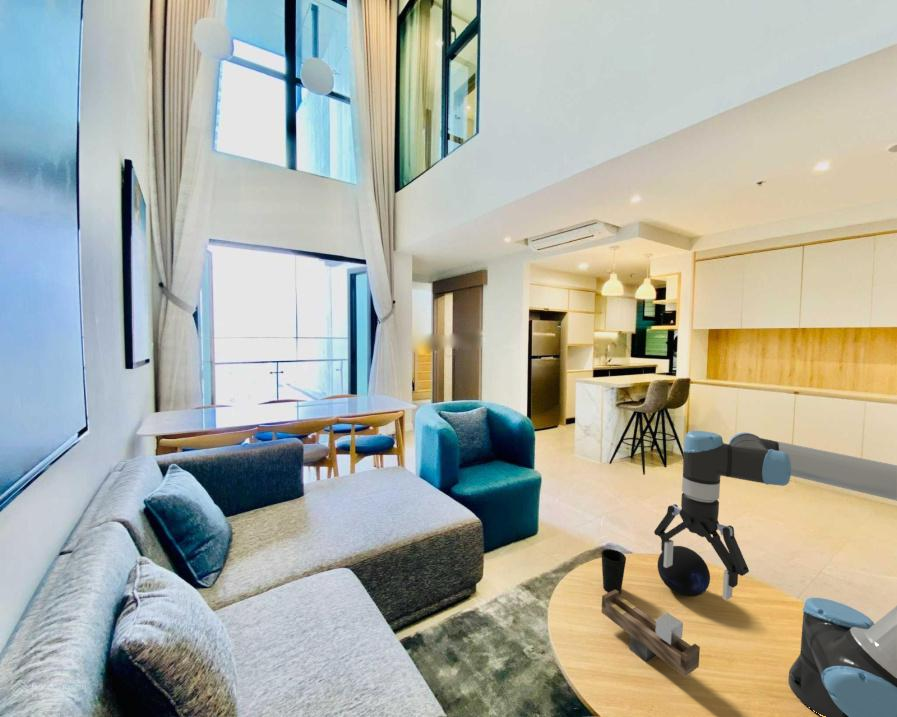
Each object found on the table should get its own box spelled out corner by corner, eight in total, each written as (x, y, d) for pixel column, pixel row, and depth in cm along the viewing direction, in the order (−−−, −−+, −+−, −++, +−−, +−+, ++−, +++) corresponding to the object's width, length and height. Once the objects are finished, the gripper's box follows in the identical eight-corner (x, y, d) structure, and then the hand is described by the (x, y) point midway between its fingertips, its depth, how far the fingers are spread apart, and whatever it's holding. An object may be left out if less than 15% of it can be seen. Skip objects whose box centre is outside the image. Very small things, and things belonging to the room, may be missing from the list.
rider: (681, 647, 97) (682, 622, 96) (670, 654, 94) (671, 629, 94) (666, 636, 100) (667, 612, 100) (654, 643, 98) (656, 619, 97)
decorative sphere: (695, 614, 117) (698, 568, 116) (647, 587, 129) (649, 545, 128) (717, 596, 125) (719, 553, 124) (670, 572, 138) (672, 532, 137)
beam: (698, 681, 94) (700, 646, 94) (683, 693, 91) (685, 657, 90) (614, 617, 115) (615, 589, 114) (600, 625, 112) (601, 595, 111)
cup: (597, 590, 127) (599, 556, 126) (602, 579, 133) (604, 546, 133) (622, 600, 123) (623, 564, 122) (626, 587, 129) (628, 553, 128)
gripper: (770, 514, 82) (765, 607, 83) (658, 476, 103) (655, 550, 105) (754, 522, 78) (748, 619, 79) (641, 481, 100) (638, 558, 101)
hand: (695, 580), depth 92 cm, fingers open, 13 cm apart
